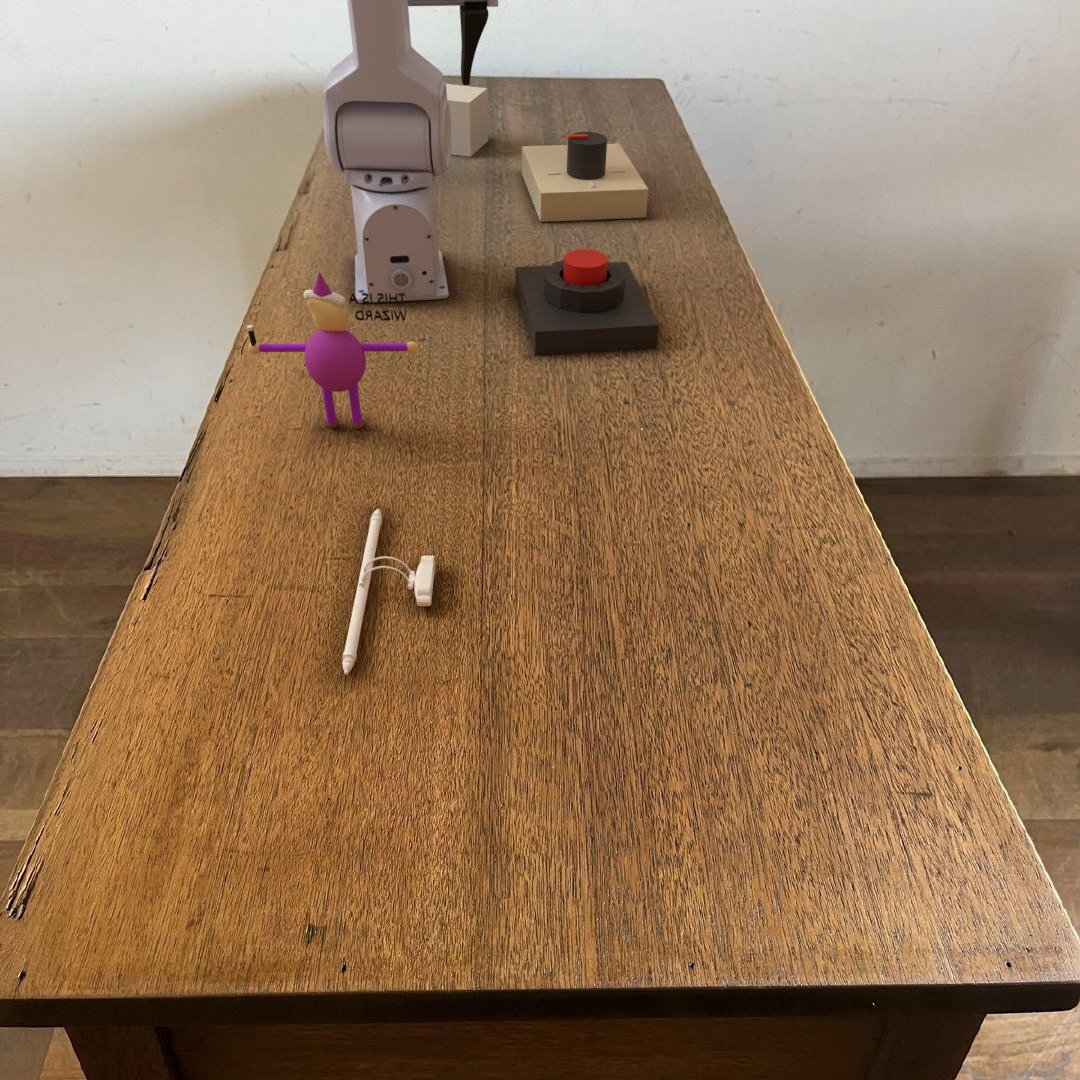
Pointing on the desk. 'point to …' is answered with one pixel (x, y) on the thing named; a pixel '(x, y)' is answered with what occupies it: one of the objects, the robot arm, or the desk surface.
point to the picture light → (420, 582)
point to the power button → (585, 267)
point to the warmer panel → (582, 186)
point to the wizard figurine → (336, 347)
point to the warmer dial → (586, 155)
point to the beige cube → (467, 118)
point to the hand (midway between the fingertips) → (428, 83)
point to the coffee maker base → (584, 311)
